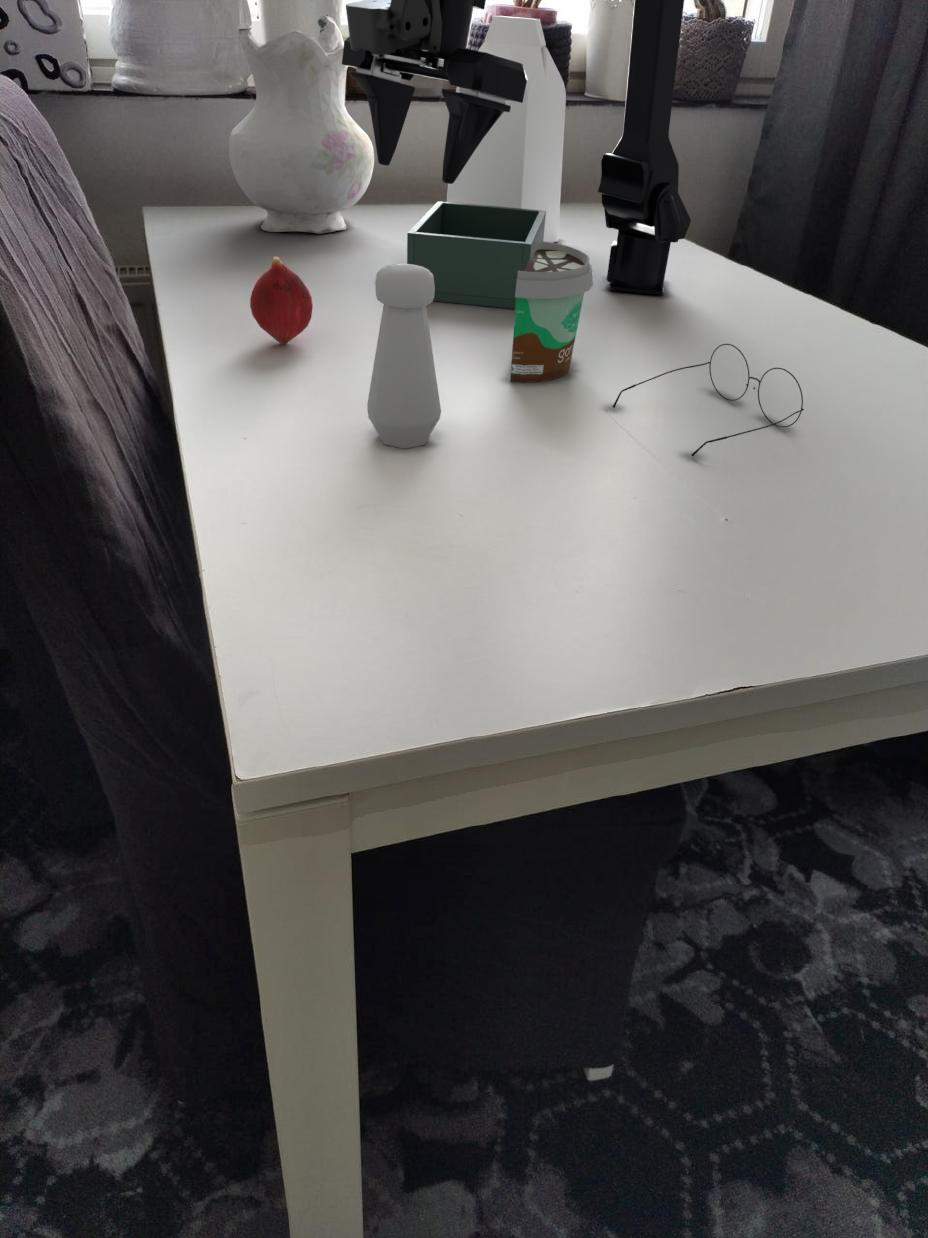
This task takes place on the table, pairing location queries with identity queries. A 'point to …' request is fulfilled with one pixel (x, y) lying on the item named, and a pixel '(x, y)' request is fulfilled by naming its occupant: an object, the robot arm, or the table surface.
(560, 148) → the milk
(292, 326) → the onion
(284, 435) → the table surface
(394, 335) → the salt shaker
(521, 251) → the green open box
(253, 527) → the table surface
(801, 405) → the eyeglasses
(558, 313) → the food container
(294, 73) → the ceramic pitcher
